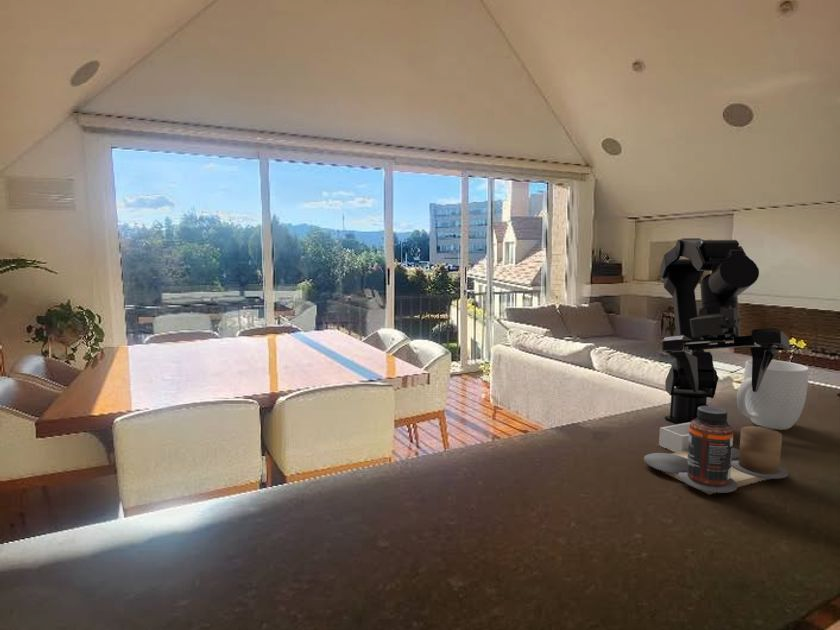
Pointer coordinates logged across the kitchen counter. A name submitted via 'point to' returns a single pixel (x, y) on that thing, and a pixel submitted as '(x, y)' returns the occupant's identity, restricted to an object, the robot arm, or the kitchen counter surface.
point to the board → (732, 461)
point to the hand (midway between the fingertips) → (724, 392)
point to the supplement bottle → (710, 447)
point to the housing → (675, 437)
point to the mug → (774, 395)
